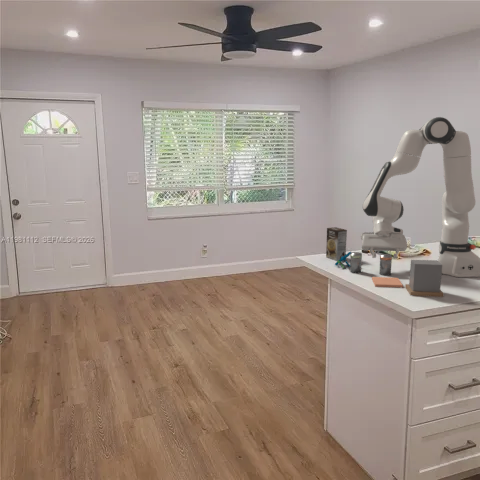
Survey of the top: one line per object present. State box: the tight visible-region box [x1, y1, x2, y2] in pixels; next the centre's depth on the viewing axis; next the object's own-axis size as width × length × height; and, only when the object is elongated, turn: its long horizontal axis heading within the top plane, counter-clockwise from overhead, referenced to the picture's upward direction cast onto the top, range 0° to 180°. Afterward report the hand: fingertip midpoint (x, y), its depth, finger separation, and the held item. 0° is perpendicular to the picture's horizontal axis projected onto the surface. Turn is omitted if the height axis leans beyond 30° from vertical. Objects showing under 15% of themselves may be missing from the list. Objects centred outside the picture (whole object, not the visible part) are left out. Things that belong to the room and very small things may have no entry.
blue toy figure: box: [334, 251, 352, 269], centre depth 210 cm, size 11×6×10 cm
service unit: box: [404, 259, 444, 298], centre depth 169 cm, size 12×10×12 cm
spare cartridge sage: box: [349, 251, 363, 274], centre depth 200 cm, size 5×5×9 cm
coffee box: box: [325, 226, 348, 262], centre depth 225 cm, size 9×6×16 cm
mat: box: [371, 276, 404, 288], centre depth 182 cm, size 11×11×1 cm
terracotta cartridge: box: [379, 253, 393, 277], centre depth 195 cm, size 5×5×9 cm
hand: (384, 257), depth 197 cm, fingers open, 8 cm apart
